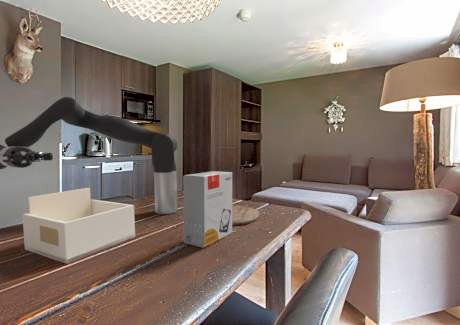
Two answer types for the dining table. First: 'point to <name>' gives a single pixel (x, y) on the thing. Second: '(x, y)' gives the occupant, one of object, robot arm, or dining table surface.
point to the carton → (79, 232)
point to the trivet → (243, 215)
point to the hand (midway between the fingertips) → (42, 157)
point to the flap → (62, 205)
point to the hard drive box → (207, 207)
